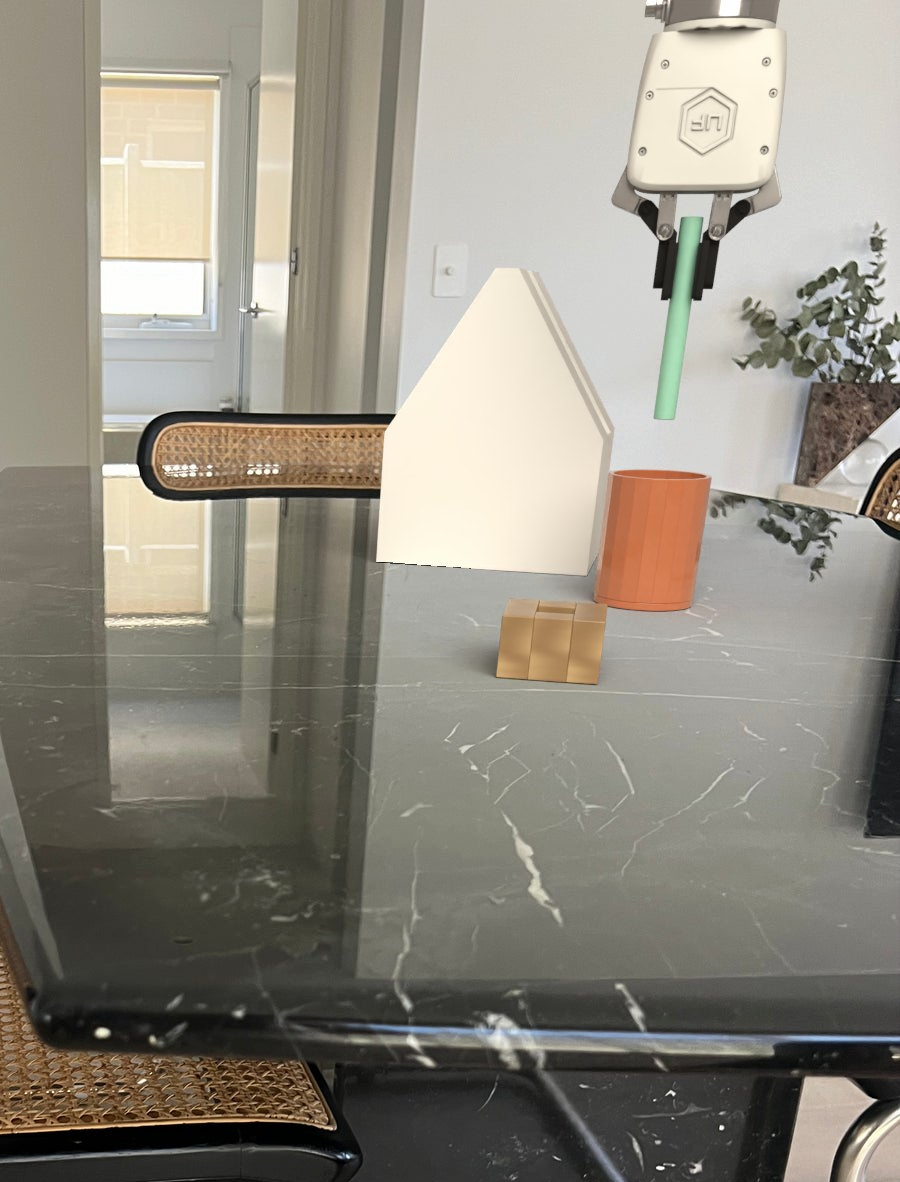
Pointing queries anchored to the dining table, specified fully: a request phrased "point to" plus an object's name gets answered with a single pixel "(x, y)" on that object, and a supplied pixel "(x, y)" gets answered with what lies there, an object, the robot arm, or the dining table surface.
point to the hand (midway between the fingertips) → (681, 298)
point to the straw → (678, 318)
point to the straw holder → (551, 641)
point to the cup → (651, 539)
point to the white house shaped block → (499, 445)
